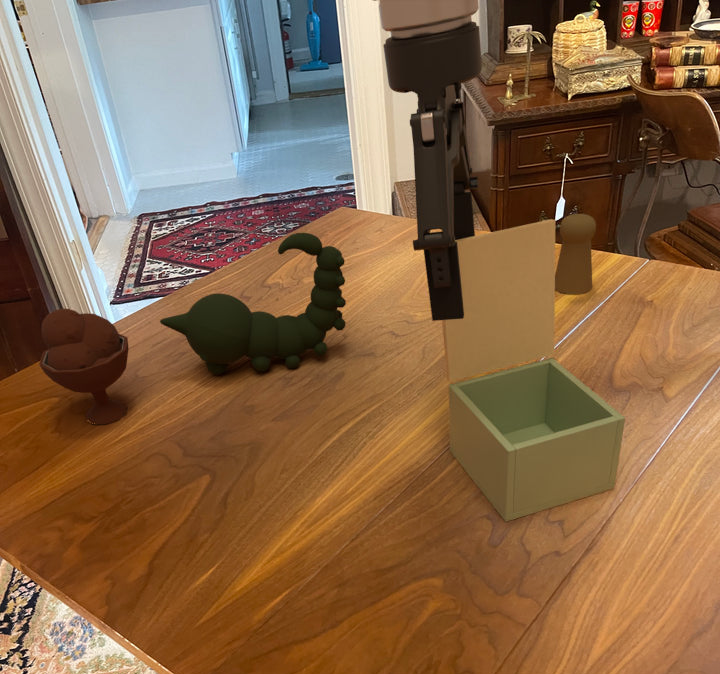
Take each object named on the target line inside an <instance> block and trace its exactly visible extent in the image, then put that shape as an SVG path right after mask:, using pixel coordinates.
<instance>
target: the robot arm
mask: <svg viewBox="0 0 720 674" xmlns="http://www.w3.org/2000/svg"><path fill="white" fill-rule="evenodd" d="M372 1H376V2H377V1H379V5H378V11H379V12H378V13H379V17H380V25H381V29H382V30H384V31H385V32H390V37H388V38H386V39H385V43H383V52H384V61H385V67H386V68H385V69H386V74H387V82H388V86H389V89H391V90H392V91H393V92H396V93H400V94H401V93H402V94H407V93H411V92H412V93H415V94H416V95H417V96H416V97H417V108H416V113H411V114H410V119H409V126H410V127H411V136H412V147H413V168H414V186H415V187H414V189H415V209H416V229H417V238H416V239H412V248H413V250H414V252H415V251H423V255H424V265H425V272H426V281H427V288H428V297H429V304H430V312H431V320H432V322H435V321H442V320H451V319H463V318H464V307H463V297H462V287H461V277H460V266H459V256H458V246H457V241H456V242H455V240H459V239H463V238H468V237H472V236H476V232H475V231H476V230H475V220H474V207H473V195H472V191H469V190H478V189H479V178H478V176H472V174H473V167H472V166H471V165H472V164H471V159H470V151H469V145H468V143H469V142H468V137H467V129H466V106H465V101H463V100H462V91H461V90H462V87H463V86H462V84H464V83H467V82H470V81H472V80H474V79H475V78H477V77H478V76H479V75H480V74H481V71H482V70H483V69H482V68H483V60H482V47H481V33H480V31H481V30H480V25H477V22H475V21H472V19H473V18H472V16H473V15H475V14H476V13H477V12H478V10H479V7H480V6H479V0H372ZM432 230H440V231H433V232H432Z"/></svg>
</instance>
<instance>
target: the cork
mask: <svg viewBox="0 0 720 674" xmlns="http://www.w3.org/2000/svg"><path fill="white" fill-rule="evenodd" d="M596 231H597V223H596V220H595V218H594V217H593V216H591V215H589V214H585V213H573V214H569V215H567V216H565V217H564V218H563V219H562V220H561V223H560V226H559V233H560V234H559V235H560V236H561V238H562V241H561V246H560V251H559V255H558V260H557V265H556V268H555V291H556V290H557V291H558V292H557V291H556V292H557V293H560V292H562V293H561V294H563V293H566V294H565V295H571V294H575V295H581V294H580V293H583V294H586V293H588V292H590V291H592V289H593V266H592V265H593V262H592V238H593V237H594V235H595V233H596ZM587 291H588V292H587ZM585 292H586V293H585Z"/></svg>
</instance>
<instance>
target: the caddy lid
mask: <svg viewBox="0 0 720 674" xmlns="http://www.w3.org/2000/svg"><path fill="white" fill-rule="evenodd" d="M456 241H457V246H458V256H459V266H460V277H461V287H462V297H463V307H464V318H463V319H451V320H441V321H442V334H443V349H444V361H445V376H446V381H448V382H449V383H451V382H456V381H459V380H464V379H467V378H470V377H474V376H475V377H476V376H478V375H482V374H486V373H490V372H494V371H497V370H501V369H505V368H510V367H514V366H516V365H517V366H518V365H520V364H524V363H529V362H532V361H536V360H539V359H543V358H548V357H551V356H555V337H556V336H555V335H556V333H555V332H556V331H555V328H556V327H555V325H556V323H555V319H556V318H555V317H556V314H555V313H556V311H555V310H556V290H555V274H556V220H555V219H552V218H551V219H550V218H549V219H545V220H541V221H537V222H533V223H528V224H523V225H519V226H518V225H517V226H513V227H510V228H505V229H500V230H496V231H492V232H487V233H482V234H477V235H475V236H472V237H468V238H463V239H459V240H455V242H456Z"/></svg>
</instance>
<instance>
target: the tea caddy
mask: <svg viewBox="0 0 720 674" xmlns="http://www.w3.org/2000/svg"><path fill="white" fill-rule="evenodd" d="M625 422H626V417H625V416H624V415H622V414H621V413H620V412H619V411H618V410H617V409H615V408H614V407H613V406H612V405H610V404H609V403H608V402H607V401H606V400H605V399H603V398H602V397H601V396H600V395H598V394H597V393H596V392H595V391H593V390H592V389H591V388H590V387H588V385H586V384H585V383H584V382H583V381H581V379H579V378H577V376H575V375H574V374H573V373H572V372H570V371H569V370H568V369H567V368H565V367H564V366H563V365H562V364H561V363H560V362H558V361H557V360H555V358H553V357H550V358H546V359H541V360H537V361H534V362H531V363H526V364H523V365H519V366H518V365H517V366H515V367H511V368H507V369H504V370H500V371H495V372H491V373H487V374H484V375H480V376H477V377H476V376H475V377H473V378H468V379H466V380H462V381H457V382H455V383H451V384H448V424H449V425H448V426H449V427H448V429H449V433H448V435H449V436H448V437H449V452H450V453H451V455H452V456H453V457H454V459H455V460H456V461H457V462H458V464H459V465H460V467H462V468H463V470H464V471H465V472H466V474H468V477H470V479H471V480H472V481H473V482H474V484H475V485H476V486H477V487H478V489H479V490H480V491H481V493H482V494H483V495H484V497H485V498H486V499H487V500H488V502H489V503H490V505H492V506H493V508H494V509H495V511H496V512H497V513H498V515H500V517H501V518H502V520H503V521H504V522H510V521H513V520H516V519H519V518H523V517H526V516H530V515H532V514H536V513H539V512H543V511H545V510H546V511H547V510H549V509H552V508H556V507H558V506H561V505H562V506H563V505H566V504H568V503H572V502H575V501H578V500H581V499H585V498H588V497H591V496H595V495H599V494H600V493H605V492H608V491H610V490H613V489H616V480H617V473H618V468H619V461H620V454H621V448H622V442H623V435H624V429H625Z"/></svg>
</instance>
